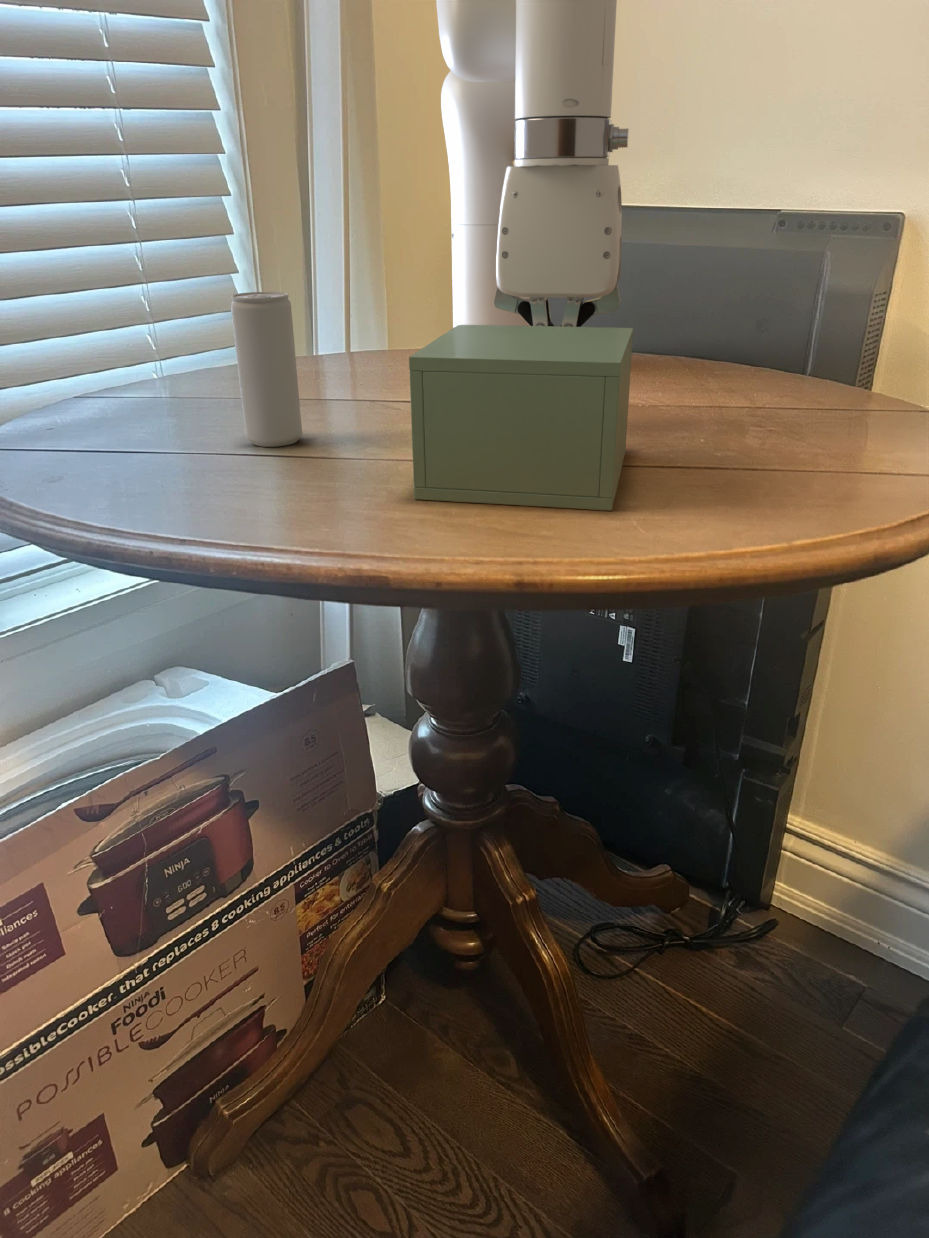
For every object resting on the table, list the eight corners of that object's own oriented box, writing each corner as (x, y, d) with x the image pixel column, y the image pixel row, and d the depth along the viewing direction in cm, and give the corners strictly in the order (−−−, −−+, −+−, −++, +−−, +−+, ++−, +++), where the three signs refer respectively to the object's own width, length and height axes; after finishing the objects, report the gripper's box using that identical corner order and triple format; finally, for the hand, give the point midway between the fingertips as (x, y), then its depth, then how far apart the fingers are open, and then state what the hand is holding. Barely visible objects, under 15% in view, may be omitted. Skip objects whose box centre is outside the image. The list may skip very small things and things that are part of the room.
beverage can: (290, 449, 77) (276, 298, 72) (237, 447, 78) (219, 298, 73) (310, 435, 82) (298, 291, 77) (259, 432, 83) (244, 291, 77)
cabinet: (459, 445, 78) (458, 324, 74) (625, 452, 75) (633, 328, 71) (413, 499, 65) (408, 356, 61) (611, 511, 62) (620, 362, 58)
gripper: (658, 146, 75) (642, 375, 83) (478, 149, 78) (479, 370, 86) (656, 143, 69) (639, 392, 77) (459, 147, 72) (462, 386, 80)
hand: (554, 380), depth 81 cm, fingers closed
